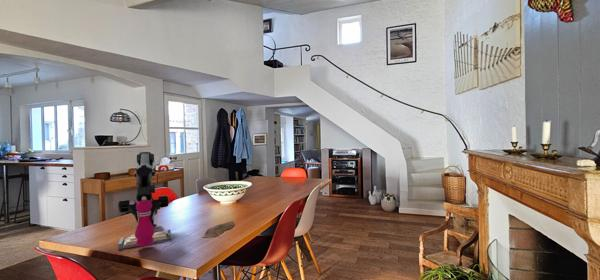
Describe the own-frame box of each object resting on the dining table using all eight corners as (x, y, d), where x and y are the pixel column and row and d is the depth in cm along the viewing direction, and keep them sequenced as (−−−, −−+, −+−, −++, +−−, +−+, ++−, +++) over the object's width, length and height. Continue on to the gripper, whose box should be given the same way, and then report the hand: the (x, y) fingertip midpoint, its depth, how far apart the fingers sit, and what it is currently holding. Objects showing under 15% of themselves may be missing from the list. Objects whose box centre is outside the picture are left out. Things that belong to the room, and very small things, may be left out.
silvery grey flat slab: (121, 243, 121) (120, 237, 121) (170, 234, 130) (170, 229, 130) (118, 249, 113) (118, 244, 113) (171, 240, 122) (170, 234, 122)
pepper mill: (145, 247, 110) (144, 198, 109) (130, 246, 111) (129, 198, 111) (158, 240, 117) (157, 194, 116) (144, 239, 118) (143, 194, 118)
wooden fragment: (213, 239, 122) (213, 237, 122) (193, 237, 126) (193, 235, 126) (243, 222, 146) (243, 220, 146) (225, 221, 150) (225, 219, 150)
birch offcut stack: (125, 240, 121) (125, 235, 121) (166, 233, 129) (166, 228, 129) (123, 246, 114) (123, 240, 114) (166, 238, 122) (166, 233, 122)
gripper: (118, 181, 113) (115, 214, 103) (167, 177, 121) (169, 207, 112) (120, 196, 120) (118, 228, 110) (167, 191, 128) (169, 220, 119)
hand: (144, 220), depth 112 cm, fingers closed on pepper mill, 5 cm apart
